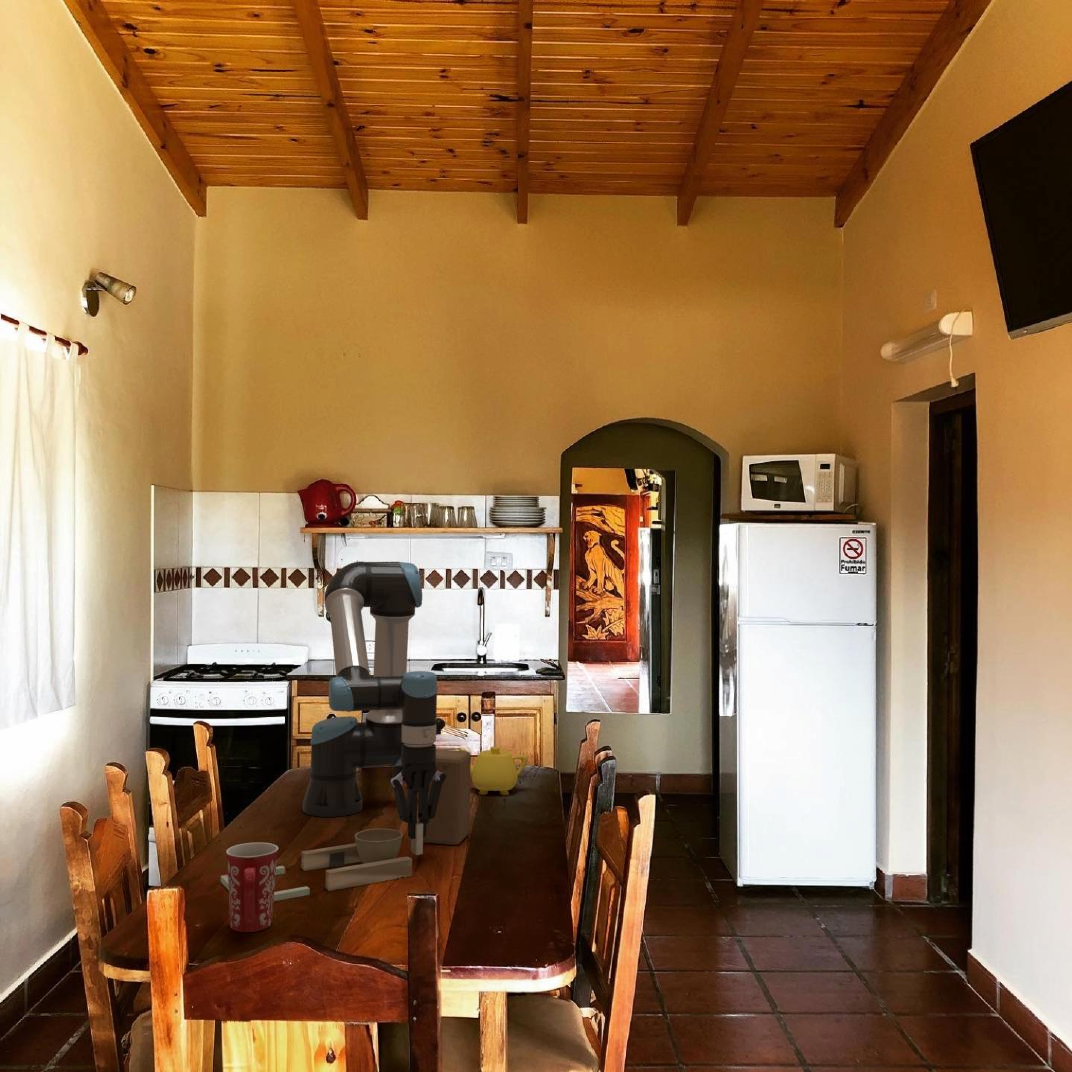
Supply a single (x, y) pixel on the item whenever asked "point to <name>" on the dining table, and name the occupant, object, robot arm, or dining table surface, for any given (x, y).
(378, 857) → the flower pot
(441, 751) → the wooden block
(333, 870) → the twin plank rack
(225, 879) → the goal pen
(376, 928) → the dining table surface
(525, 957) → the dining table surface
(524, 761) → the teapot
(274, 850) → the mug
